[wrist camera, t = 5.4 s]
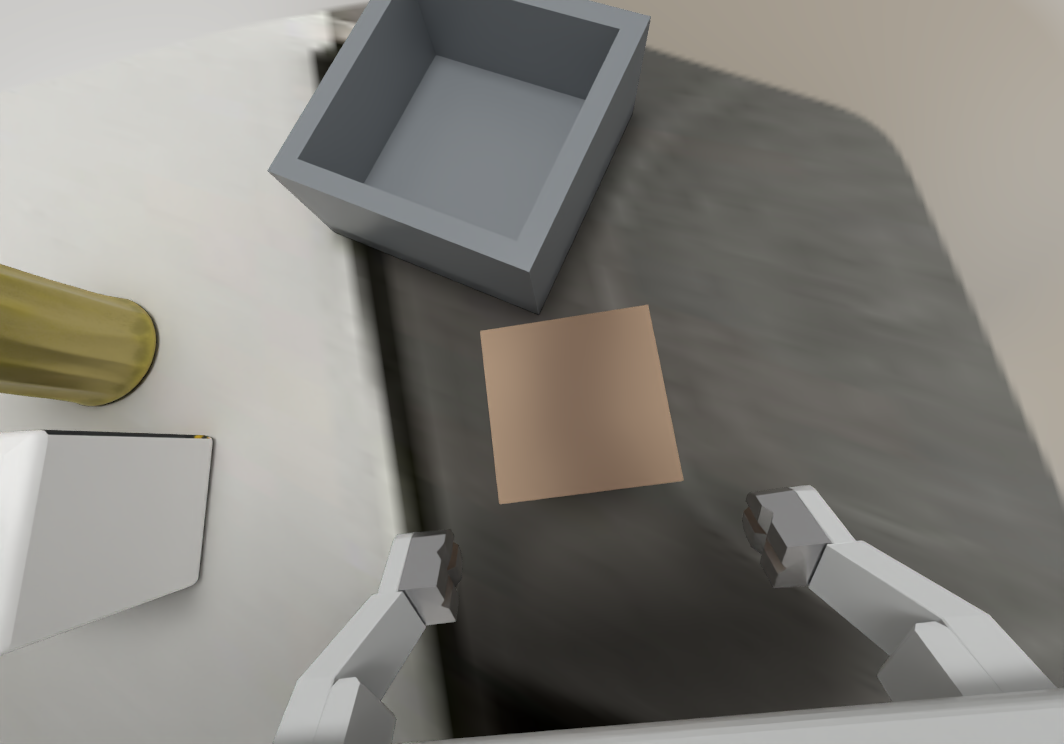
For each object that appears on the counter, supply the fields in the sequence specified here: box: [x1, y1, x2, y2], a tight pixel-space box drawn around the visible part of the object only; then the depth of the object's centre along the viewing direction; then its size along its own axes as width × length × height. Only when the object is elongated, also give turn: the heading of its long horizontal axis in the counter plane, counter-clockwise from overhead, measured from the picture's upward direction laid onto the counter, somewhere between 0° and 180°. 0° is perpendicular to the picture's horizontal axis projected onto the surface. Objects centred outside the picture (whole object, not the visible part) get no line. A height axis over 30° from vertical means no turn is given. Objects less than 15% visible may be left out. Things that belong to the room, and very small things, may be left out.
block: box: [480, 305, 684, 504], centre depth 15 cm, size 5×5×8 cm
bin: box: [268, 0, 651, 315], centre depth 20 cm, size 13×13×5 cm
